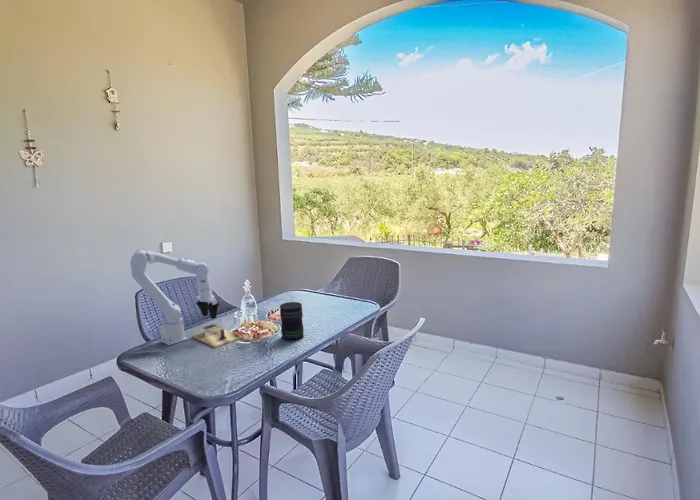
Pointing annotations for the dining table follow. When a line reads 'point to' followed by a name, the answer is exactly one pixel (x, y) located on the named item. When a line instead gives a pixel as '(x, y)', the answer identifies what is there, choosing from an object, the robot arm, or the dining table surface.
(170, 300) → the robot arm
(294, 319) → the storage jar
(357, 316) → the dining table surface
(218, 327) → the grey tin box
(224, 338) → the board
